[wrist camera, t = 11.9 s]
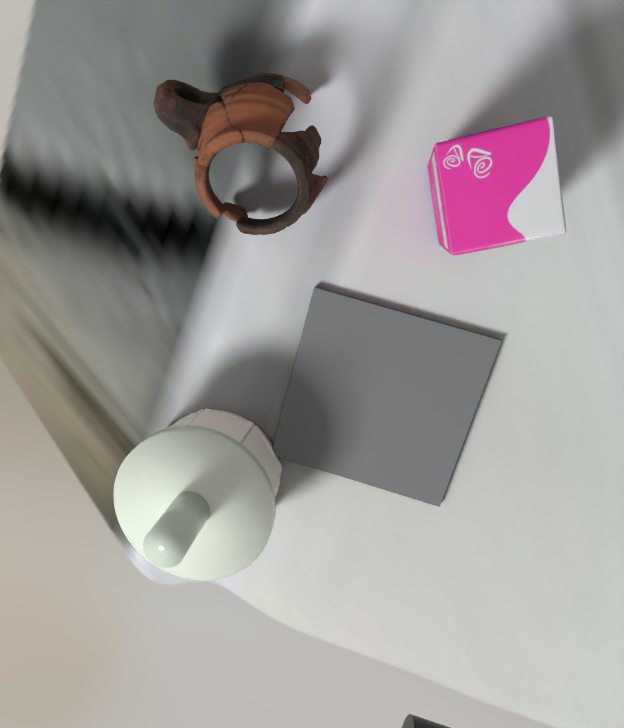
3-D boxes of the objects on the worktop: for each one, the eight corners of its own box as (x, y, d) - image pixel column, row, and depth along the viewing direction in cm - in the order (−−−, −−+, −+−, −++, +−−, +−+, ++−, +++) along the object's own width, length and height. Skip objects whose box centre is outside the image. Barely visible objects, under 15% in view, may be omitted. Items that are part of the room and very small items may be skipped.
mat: (500, 339, 41) (501, 340, 40) (439, 503, 45) (439, 506, 44) (315, 286, 42) (314, 287, 41) (272, 451, 46) (270, 454, 46)
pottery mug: (355, 96, 38) (348, 152, 33) (303, 206, 45) (289, 269, 39) (186, 12, 36) (146, 57, 30) (156, 142, 42) (119, 200, 37)
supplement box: (513, 140, 37) (558, 112, 26) (523, 230, 39) (570, 240, 28) (424, 160, 38) (433, 142, 27) (437, 247, 40) (451, 262, 29)
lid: (292, 453, 40) (273, 496, 34) (256, 590, 43) (233, 650, 37) (134, 405, 41) (88, 439, 35) (111, 543, 44) (66, 594, 38)
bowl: (294, 431, 45) (280, 460, 40) (264, 540, 48) (248, 580, 43) (170, 393, 46) (141, 417, 41) (149, 503, 49) (119, 538, 44)
